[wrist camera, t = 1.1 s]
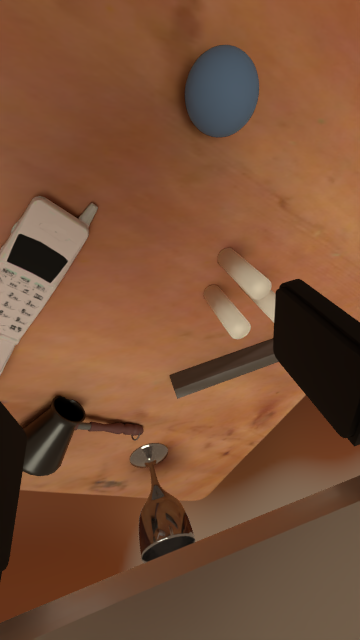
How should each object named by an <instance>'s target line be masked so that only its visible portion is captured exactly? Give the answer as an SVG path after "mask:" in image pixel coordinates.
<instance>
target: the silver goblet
mask: <svg viewBox="0 0 360 640" xmlns="http://www.w3.org/2000/svg"><path fill="white" fill-rule="evenodd" d="M167 454H168V448H167V447H166V446H165V445H163V444H159V443H152V444H147V445H144V446H142V447H140V448H138V449H137V450H135V451H134V452H133V453H132V455H131V456H130V463H131V464H132V465H133V466H135V467H138V468H147V467H149V468H150V473H151V492H150V495H149V497H148V499H147V501H146V503H145V505H144V506H143V508H142V511H141V514H140V518H139V543H140V552H141V558H142V561H143V562H144V563H146V562H148V561H151V560H153V559H156V558H158V557H161V556H163V555H165V554H168V553H170V552H173V551H175V550H178V549H180V548H182V547H185V546H187V545H190V544H192V543H195V538H194V534H193V530H192V527H191V524H190V521H189V518H188V516H187V514H186V512H185V510H184V508H183V506H182V504H181V503H180V501H179V500H178V499H177V498H175V497H174V496H172V495H171V494H169V493H168V492H166V491H165V490H164V489H163V488H162V487H161V486H160V484H159V482H158V480H157V477H156V474H155V470H154V465H156V464H158V463H160V462H161V461H163V460H164V459H165V458H166V456H167Z"/></svg>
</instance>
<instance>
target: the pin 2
mask: <svg viewBox="0 0 360 640" xmlns="http://www.w3.org/2000/svg"><path fill="white" fill-rule="evenodd" d="M239 286H240V285H239ZM240 288H241V289H242V290H243V291H244V292H245V293H246V291H245V290H244V289H243V288H242V287H241V286H240ZM246 294H247V293H246ZM247 295H248V294H247ZM275 295H276V294H275V293H274V292H273V291H272V290H270V292H269V293H268V295H267V296H265V297H264V298H262V299H259V300H255V299H253V298H251V297H250V296H249V295H248V296H249V297H250V298H251V299H252V300H253V301H254V302H255V303H256V304H257V305H258V306H259V308H260V309H261V310H262V311H263V312H264V313H265V314H266V315H267V316H268V317H269V318H270V319H271V320H272V321H273V322H274V316H275Z"/></svg>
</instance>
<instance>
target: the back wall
mask: <svg viewBox="0 0 360 640" xmlns="http://www.w3.org/2000/svg"><path fill="white" fill-rule="evenodd" d="M277 362H279V361H278V360H277V359H276V357H275V355H274V352H273V339H271V340H268V341H265V342H262V343H259V344H256V345H254V346H251V347H248V348H245V349H242V350H240V351H237V352H234V353H231V354H228V355H225V356H223V357H220V358H217V359H214V360H211V361H209V362H206V363H203V364H200V365H197V366H194V367H192V368H189V369H186V370H183V371H180V372H178V373H175V374H172V375H170V379H171V382H172V385H173V388H174V390H175V393H176V396H177V399H178V398H181V397H183V396H186V395H189V394H191V393H194V392H197V391H200V390H202V389H205V388H208V387H211V386H213V385H216V384H219V383H222V382H224V381H227V380H230V379H233V378H235V377H238V376H241V375H244V374H246V373H249V372H252V371H255V370H257V369H260V368H263V367H266V366H268V365H271V364H274V363H277Z"/></svg>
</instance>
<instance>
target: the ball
mask: <svg viewBox="0 0 360 640" xmlns="http://www.w3.org/2000/svg"><path fill="white" fill-rule="evenodd" d="M258 95H259V79H258V74H257V71H256V68H255V66H254V64H253V62H252V60H251V59H250V57H249V56H248V55H247V54H246V53H245V52H244V51H242V50H241V49H239V48H237V47H235V46H230V45H219V46H216V47H213V48H211V49H209V50H207V51H206V52H205V53H203V54H202V55H201V56H200V57H199V58H198V59H197V60H196V62H195V63H194V65H193V66H192V68H191V70H190V73H189V75H188V78H187V82H186V87H185V103H186V108H187V112H188V114H189V117H190V119H191V121H192V122H193V124H194V125H195V126H196V127H197V128H198V129H199V130H200V131H201V132H203V133H204V134H206V135H209V136H212V137H226V136H229V135H232V134H234V133H236V132H237V131H239V130H240V129H241V128H242V127H243V126H244V125H245V124H246V123H247V122H248V121H249V119H250V118H251V116H252V114H253V112H254V110H255V107H256V104H257V100H258Z"/></svg>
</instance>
